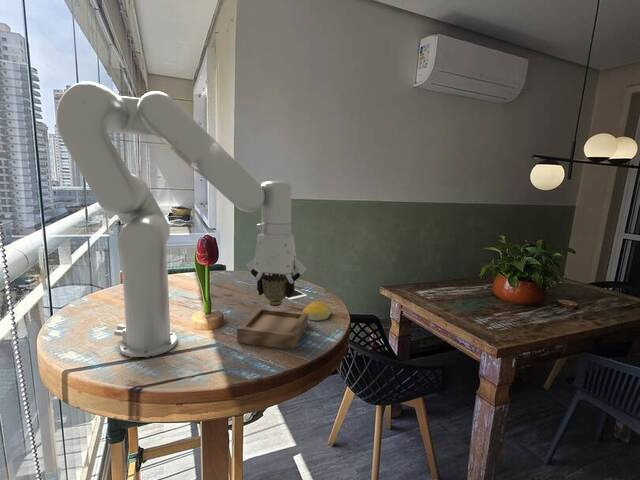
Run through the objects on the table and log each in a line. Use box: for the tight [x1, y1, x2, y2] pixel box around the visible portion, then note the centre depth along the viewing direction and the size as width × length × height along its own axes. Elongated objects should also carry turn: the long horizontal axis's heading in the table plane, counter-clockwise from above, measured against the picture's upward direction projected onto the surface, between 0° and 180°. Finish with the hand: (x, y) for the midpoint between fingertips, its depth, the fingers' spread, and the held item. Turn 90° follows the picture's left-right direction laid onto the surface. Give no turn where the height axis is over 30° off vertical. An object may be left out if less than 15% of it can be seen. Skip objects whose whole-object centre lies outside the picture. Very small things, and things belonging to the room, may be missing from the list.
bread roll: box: [301, 301, 332, 321], centre depth 106 cm, size 8×9×4 cm
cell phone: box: [284, 288, 308, 301], centre depth 128 cm, size 8×16×1 cm, turn 40°
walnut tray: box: [236, 306, 309, 351], centre depth 93 cm, size 15×15×4 cm
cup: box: [262, 273, 288, 307], centre depth 91 cm, size 8×7×8 cm
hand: (275, 294), depth 91 cm, fingers closed on cup, 7 cm apart
